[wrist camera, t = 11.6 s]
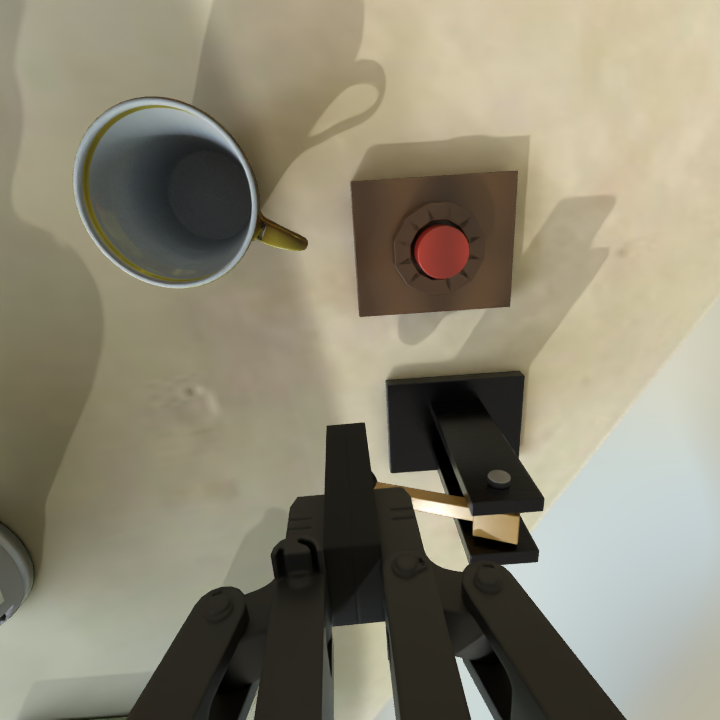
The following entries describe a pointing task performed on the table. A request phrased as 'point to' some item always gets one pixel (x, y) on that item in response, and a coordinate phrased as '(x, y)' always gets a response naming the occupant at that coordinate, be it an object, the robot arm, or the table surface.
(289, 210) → the table surface
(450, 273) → the button
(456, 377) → the switch bracket
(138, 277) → the ceramic cup
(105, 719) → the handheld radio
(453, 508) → the switch lever
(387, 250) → the button block
